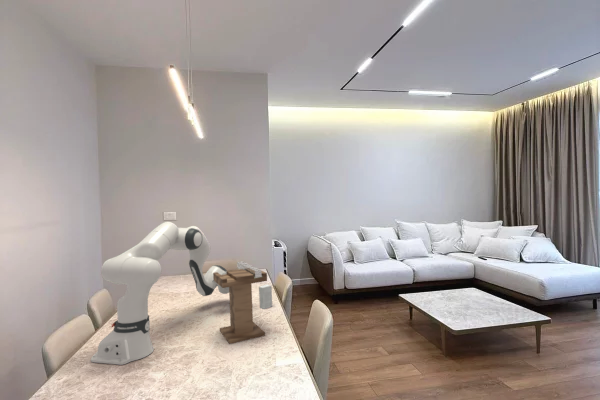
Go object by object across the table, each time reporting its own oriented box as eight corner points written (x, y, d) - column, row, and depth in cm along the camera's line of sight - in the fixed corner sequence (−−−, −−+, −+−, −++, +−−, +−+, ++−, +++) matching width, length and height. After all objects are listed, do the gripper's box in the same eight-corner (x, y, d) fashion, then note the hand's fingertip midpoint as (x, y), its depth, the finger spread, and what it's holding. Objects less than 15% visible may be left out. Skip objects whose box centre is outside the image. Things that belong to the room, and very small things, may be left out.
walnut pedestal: (215, 332, 155) (213, 272, 155) (256, 323, 164) (254, 267, 164) (224, 345, 141) (222, 279, 141) (269, 334, 150) (266, 273, 150)
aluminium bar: (237, 267, 170) (237, 261, 170) (242, 267, 172) (242, 261, 172) (255, 277, 147) (254, 271, 147) (261, 276, 149) (261, 270, 149)
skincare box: (267, 305, 192) (267, 284, 192) (272, 306, 189) (271, 285, 189) (259, 307, 188) (258, 286, 188) (264, 309, 185) (263, 287, 184)
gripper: (210, 277, 185) (215, 268, 174) (246, 271, 195) (252, 263, 184) (212, 288, 182) (217, 280, 172) (248, 282, 192) (255, 274, 181)
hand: (236, 271), depth 178 cm, fingers open, 8 cm apart
